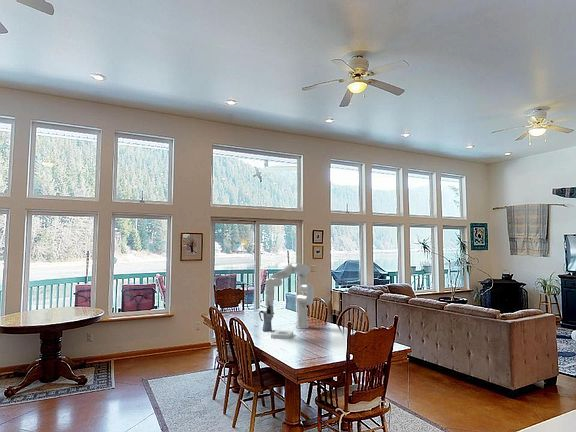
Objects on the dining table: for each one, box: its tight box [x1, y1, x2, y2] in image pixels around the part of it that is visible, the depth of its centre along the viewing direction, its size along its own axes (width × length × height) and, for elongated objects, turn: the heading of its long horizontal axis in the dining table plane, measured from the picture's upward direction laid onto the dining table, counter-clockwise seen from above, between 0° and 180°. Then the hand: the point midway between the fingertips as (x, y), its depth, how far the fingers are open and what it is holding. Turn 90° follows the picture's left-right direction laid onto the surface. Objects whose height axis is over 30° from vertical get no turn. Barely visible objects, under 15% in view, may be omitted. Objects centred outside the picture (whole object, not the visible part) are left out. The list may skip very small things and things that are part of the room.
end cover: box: [267, 304, 274, 319], centre depth 335 cm, size 6×6×11 cm
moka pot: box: [258, 310, 275, 332], centre depth 356 cm, size 10×15×20 cm, turn 78°
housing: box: [270, 329, 294, 340], centre depth 333 cm, size 16×16×3 cm
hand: (269, 313), depth 335 cm, fingers closed on end cover, 6 cm apart
